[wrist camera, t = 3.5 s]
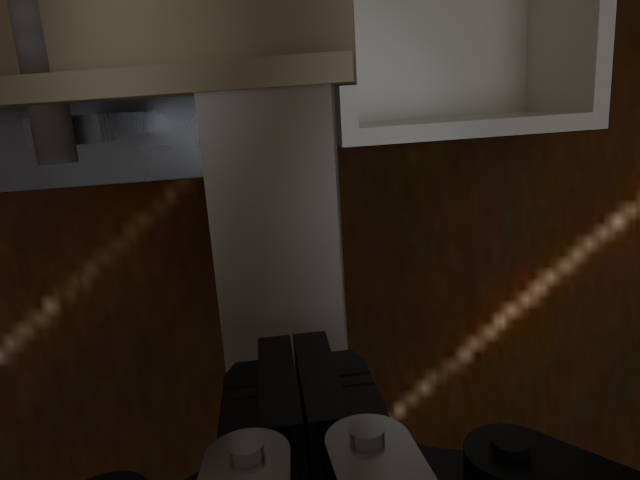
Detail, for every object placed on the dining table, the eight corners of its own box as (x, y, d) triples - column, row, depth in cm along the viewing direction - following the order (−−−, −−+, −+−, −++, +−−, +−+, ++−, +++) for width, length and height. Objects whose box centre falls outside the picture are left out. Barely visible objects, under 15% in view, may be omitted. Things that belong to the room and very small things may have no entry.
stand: (288, -144, 21) (306, -283, 13) (309, 166, 24) (333, 194, 16) (-156, -135, 19) (-418, -288, 12) (-75, 195, 22) (-243, 241, 15)
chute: (345, -221, 13) (333, -368, 9) (370, 347, 17) (368, 428, 13) (-226, -147, 15) (-461, -244, 11) (-90, 354, 19) (-224, 428, 15)
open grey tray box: (540, -115, 22) (629, -185, 17) (531, 123, 25) (607, 128, 19) (308, -109, 21) (325, -180, 16) (322, 138, 24) (342, 147, 18)
